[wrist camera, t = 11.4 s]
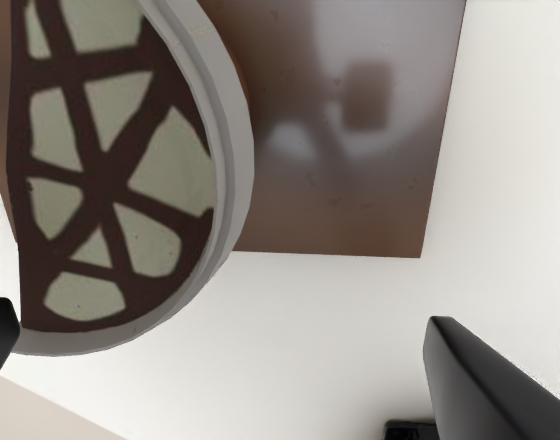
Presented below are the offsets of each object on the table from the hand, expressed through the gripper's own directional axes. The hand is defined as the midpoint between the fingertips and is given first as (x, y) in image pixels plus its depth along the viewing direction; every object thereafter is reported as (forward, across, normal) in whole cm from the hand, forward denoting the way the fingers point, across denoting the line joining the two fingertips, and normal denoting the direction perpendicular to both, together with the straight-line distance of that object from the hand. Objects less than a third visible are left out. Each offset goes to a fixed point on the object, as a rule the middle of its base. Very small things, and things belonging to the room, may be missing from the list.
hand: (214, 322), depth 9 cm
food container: (+12, +3, -2) cm, 12 cm away
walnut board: (+12, +3, -2) cm, 13 cm away
